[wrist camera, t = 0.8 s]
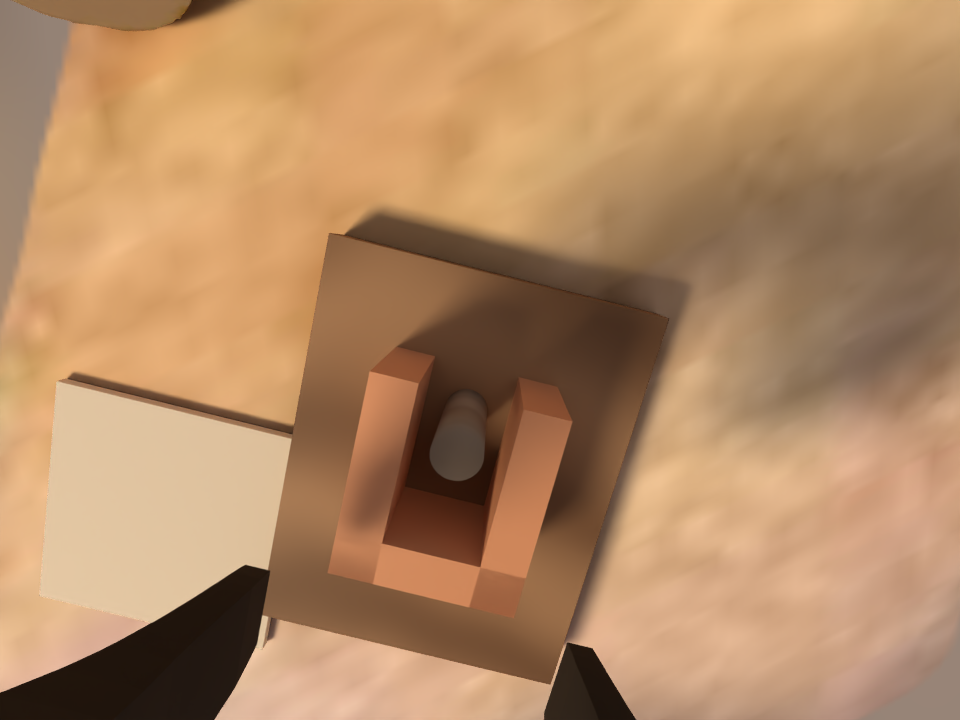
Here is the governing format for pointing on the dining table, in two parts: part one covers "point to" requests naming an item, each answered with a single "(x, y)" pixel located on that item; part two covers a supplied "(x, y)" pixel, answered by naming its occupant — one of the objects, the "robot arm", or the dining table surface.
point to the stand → (456, 440)
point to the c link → (438, 519)
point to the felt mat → (154, 502)
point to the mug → (113, 12)
